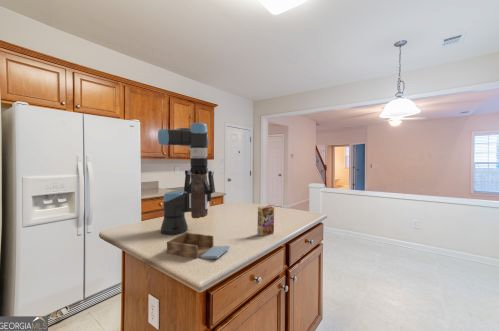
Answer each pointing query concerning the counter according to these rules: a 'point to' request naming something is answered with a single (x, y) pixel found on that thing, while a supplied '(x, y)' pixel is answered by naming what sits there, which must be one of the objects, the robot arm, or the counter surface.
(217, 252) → the panel
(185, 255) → the box
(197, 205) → the candle
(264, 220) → the candy box
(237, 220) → the counter surface
